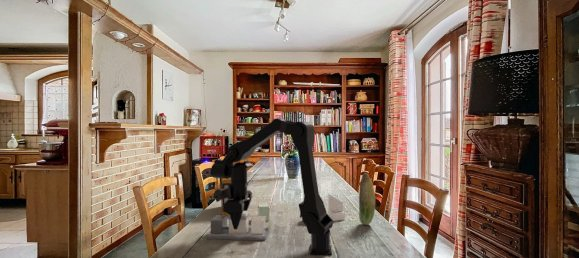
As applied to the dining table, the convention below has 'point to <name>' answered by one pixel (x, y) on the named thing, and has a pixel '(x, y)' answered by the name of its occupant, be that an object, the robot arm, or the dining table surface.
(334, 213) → the white angled block
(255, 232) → the rail
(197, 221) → the dining table surface
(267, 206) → the green block
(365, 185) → the vegetable
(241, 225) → the block
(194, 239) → the dining table surface
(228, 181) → the supplement box
